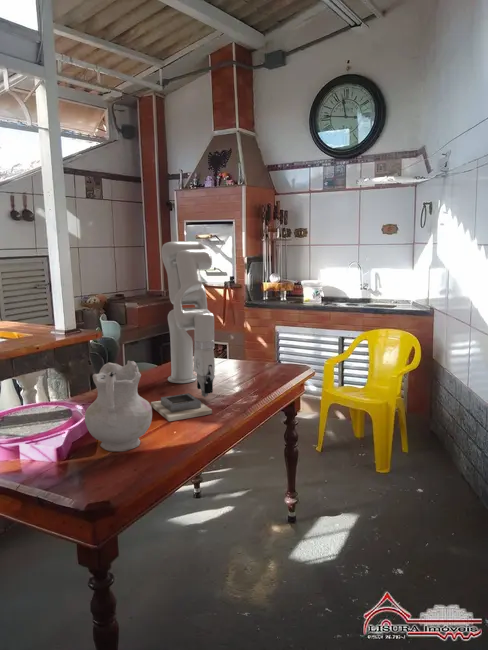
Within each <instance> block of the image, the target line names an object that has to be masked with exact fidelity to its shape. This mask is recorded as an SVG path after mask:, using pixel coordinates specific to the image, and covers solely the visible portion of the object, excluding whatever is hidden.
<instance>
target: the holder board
mask: <svg viewBox="0 0 488 650" xmlns="http://www.w3.org/2000/svg"><path fill="white" fill-rule="evenodd" d="M185 402H187V401H185ZM179 403H183V402H179ZM174 404H177V403H174ZM150 405H151V407H152V409H153V410H155V411H156V412H158V413H159V414H160V415H161V416H162V417H163V418H164V419H166V420H167V421H168V422H173V421H174V422H175V421H180V420H185V419H191V418H196V417H203V416H206V415H207V416H208V415H209V416H210V415H212V414H213V409H212V408H211V407H209V406H207V405H206V404H204V403H202V402H201V408H196V409H191V410H185V411H179V412H173V413H172V412H170V411H169V410H168V409H166V408H165V407H164V406H163V405H161V400H158V401H157V400H156V401H151V402H150Z"/></svg>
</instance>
